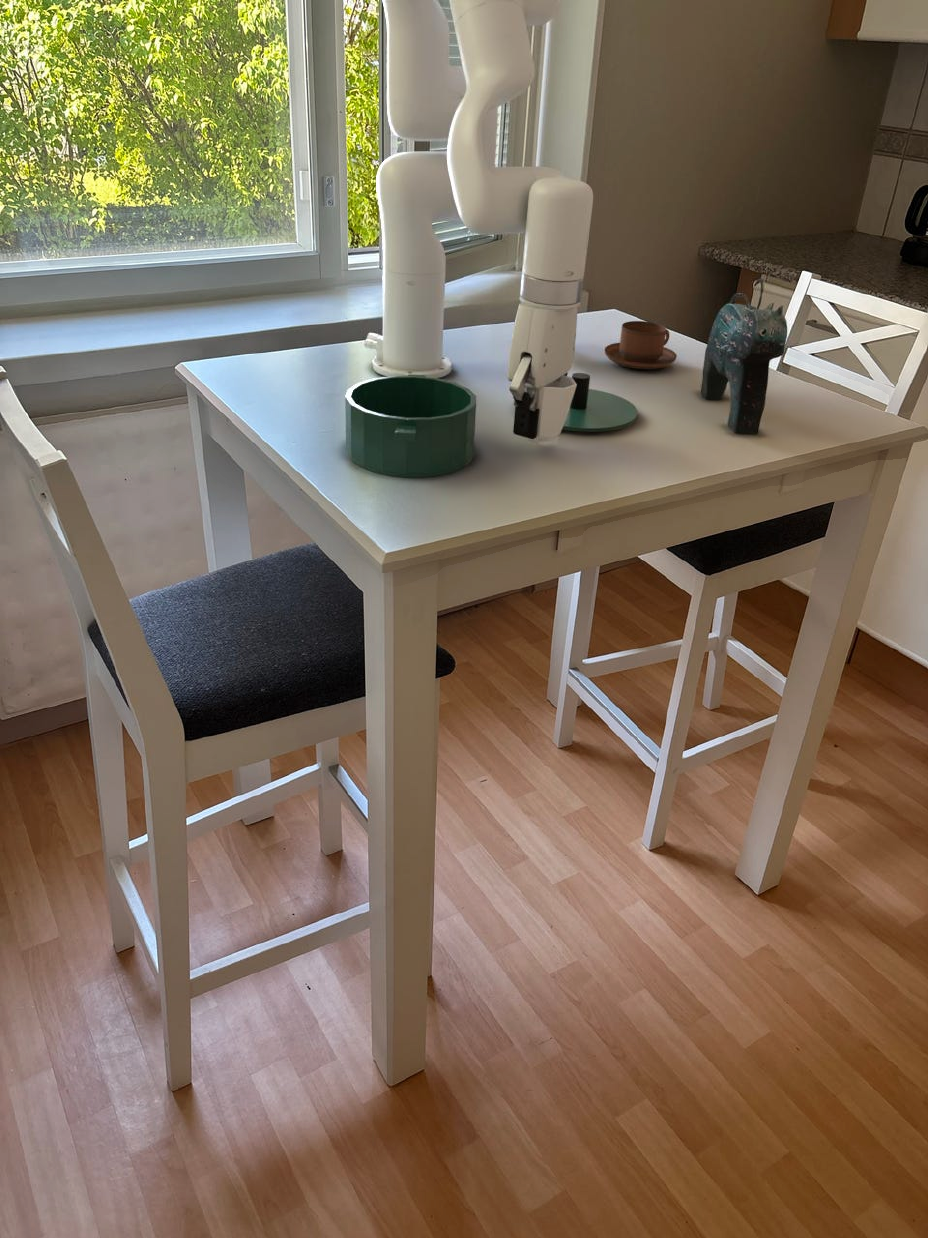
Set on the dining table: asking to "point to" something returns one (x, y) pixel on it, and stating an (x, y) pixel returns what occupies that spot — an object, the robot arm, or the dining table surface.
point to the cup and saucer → (642, 346)
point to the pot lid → (597, 409)
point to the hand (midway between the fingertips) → (536, 427)
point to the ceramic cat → (743, 359)
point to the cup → (552, 408)
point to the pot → (410, 425)
